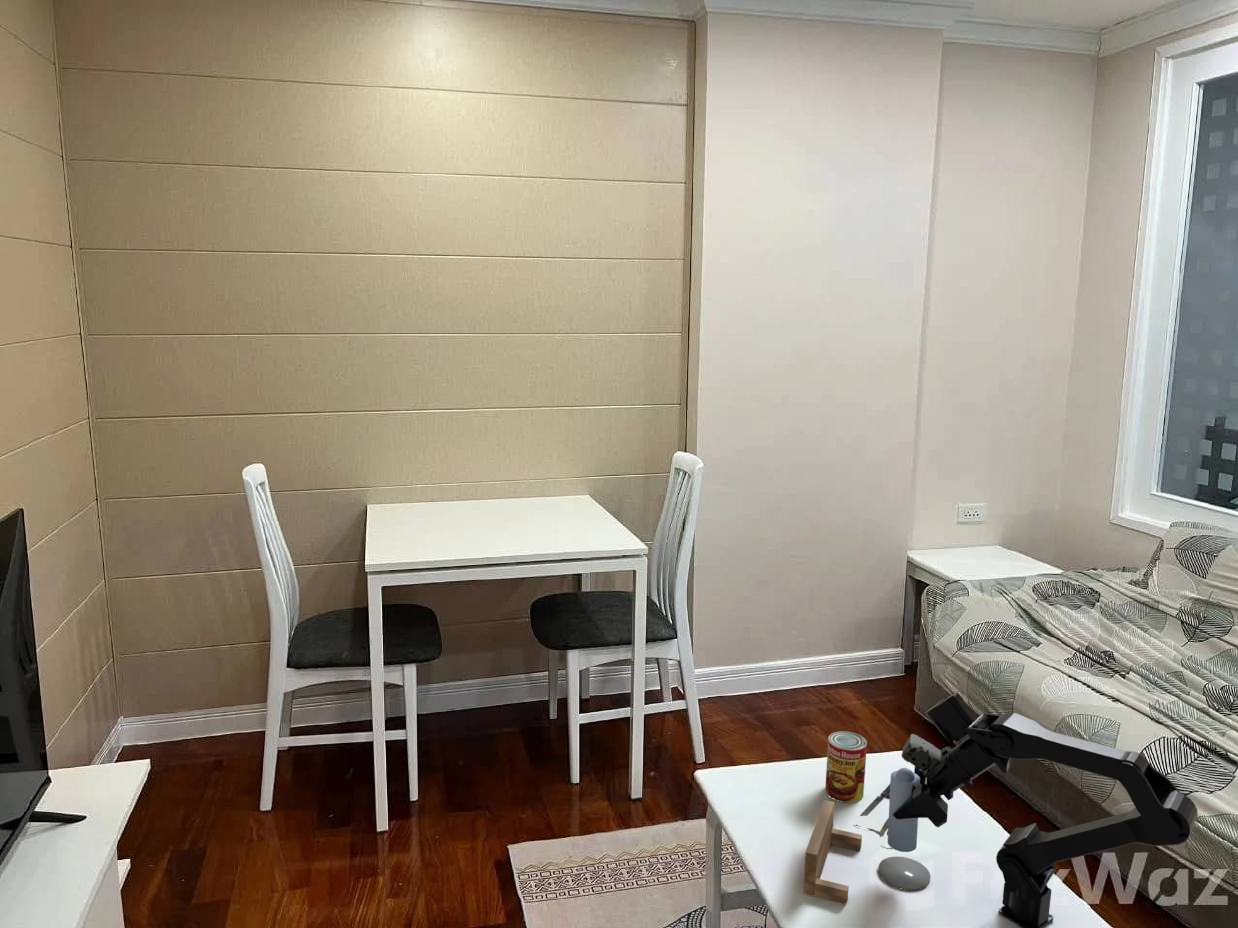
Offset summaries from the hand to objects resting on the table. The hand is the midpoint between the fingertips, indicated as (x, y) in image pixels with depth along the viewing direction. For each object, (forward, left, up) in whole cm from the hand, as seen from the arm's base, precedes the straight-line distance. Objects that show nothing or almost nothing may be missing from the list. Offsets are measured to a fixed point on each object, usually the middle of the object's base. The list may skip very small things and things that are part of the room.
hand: (895, 808), depth 167 cm
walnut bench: (+7, +8, -13) cm, 17 cm away
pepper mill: (-1, -1, -7) cm, 7 cm away
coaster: (-1, -2, -13) cm, 13 cm away
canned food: (+24, -14, -13) cm, 30 cm away
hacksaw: (+13, -16, -14) cm, 25 cm away
